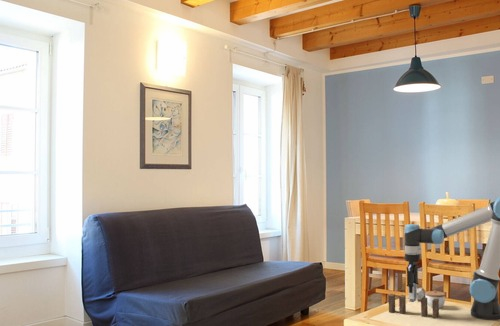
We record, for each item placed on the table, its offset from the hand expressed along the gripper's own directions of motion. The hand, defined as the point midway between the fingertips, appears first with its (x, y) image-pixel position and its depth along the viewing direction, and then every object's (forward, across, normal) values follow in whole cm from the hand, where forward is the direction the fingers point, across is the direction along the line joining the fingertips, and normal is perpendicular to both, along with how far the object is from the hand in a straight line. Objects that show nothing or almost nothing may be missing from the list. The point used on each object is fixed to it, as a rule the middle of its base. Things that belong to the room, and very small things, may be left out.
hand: (412, 297), depth 271 cm
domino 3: (+2, 0, 0) cm, 2 cm away
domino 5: (+9, 0, -12) cm, 14 cm away
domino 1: (+9, 0, +11) cm, 14 cm away
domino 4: (+9, 0, -6) cm, 11 cm away
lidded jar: (+9, +22, -7) cm, 25 cm away
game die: (+9, +33, +4) cm, 34 cm away
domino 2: (+9, 0, +5) cm, 10 cm away
